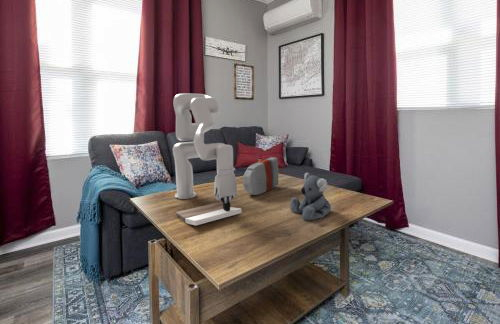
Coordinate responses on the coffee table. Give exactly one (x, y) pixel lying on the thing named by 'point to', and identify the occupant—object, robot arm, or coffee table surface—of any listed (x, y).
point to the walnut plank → (199, 210)
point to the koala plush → (312, 199)
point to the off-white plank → (212, 216)
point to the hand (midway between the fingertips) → (226, 210)
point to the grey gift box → (261, 176)
